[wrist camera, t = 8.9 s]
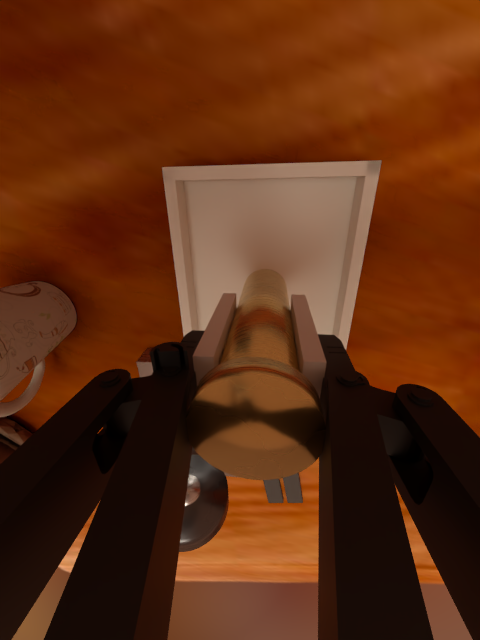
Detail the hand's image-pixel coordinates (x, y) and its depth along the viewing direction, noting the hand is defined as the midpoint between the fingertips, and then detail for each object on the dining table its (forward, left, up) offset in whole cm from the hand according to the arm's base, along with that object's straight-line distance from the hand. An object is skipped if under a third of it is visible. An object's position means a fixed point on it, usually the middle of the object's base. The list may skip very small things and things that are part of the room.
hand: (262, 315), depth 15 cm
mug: (+6, -22, -8) cm, 24 cm away
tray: (0, 0, -8) cm, 8 cm away
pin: (0, 0, -5) cm, 5 cm away
